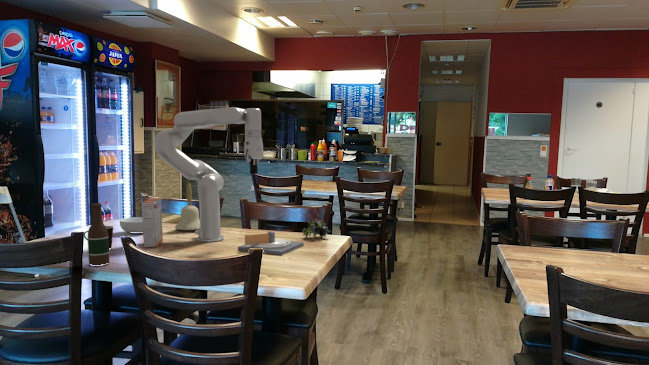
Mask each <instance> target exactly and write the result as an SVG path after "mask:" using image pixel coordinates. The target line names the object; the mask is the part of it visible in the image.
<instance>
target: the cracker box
mask: <svg viewBox="0 0 649 365" xmlns="http://www.w3.org/2000/svg"><path fill="white" fill-rule="evenodd" d="M162 208H163V207H162V198H161V197H149V198H148V199H146V200H144V201H142V202H141V216H142V218H143V233H142V236H143V238H142V239H143V248H144V247H152V248H157V247H159V245H160V244H161V243H162V242H163V241H164V236H163V230H164V229H163V213H162V211H163V209H162Z"/></svg>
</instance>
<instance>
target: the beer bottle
mask: <svg viewBox="0 0 649 365" xmlns="http://www.w3.org/2000/svg"><path fill="white" fill-rule="evenodd" d="M91 208H92V210H91V211H92V212H91V214H92V218H91V225H90V226H89V228H88V230H87V231H88V232H87V239H88V241H87V250H88V251H87V252H88V264H92V265H101V264H106V263H109V264H110V251H109V237H108V231H107V229H106V227H105V226H106V225H105V224H104V221H103V212H102V203H100V202H95V203H92V204H91Z"/></svg>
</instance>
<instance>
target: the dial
mask: <svg viewBox="0 0 649 365" xmlns="http://www.w3.org/2000/svg"><path fill="white" fill-rule="evenodd" d="M286 240H287V239H285V240H283V239H282V238H276V232H275V231H272V230H271V231H267V232H263V233H262V232H261V233H250V234H244V245H245V244H246V245H248V244H256V245H258V246H267V247H271V246H283V245H285V244H287V241H286Z"/></svg>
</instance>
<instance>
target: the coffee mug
mask: <svg viewBox="0 0 649 365" xmlns="http://www.w3.org/2000/svg"><path fill="white" fill-rule="evenodd" d="M105 227H106V229H107V231H108V237H109V248H111V247H113V236H114V235H113V232H114V226H112V225H105ZM86 233H88V230H85V231H84V232H83V235H84V236H83V237H84V239H85V240H86V241H87V242H88V237H86Z"/></svg>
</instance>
